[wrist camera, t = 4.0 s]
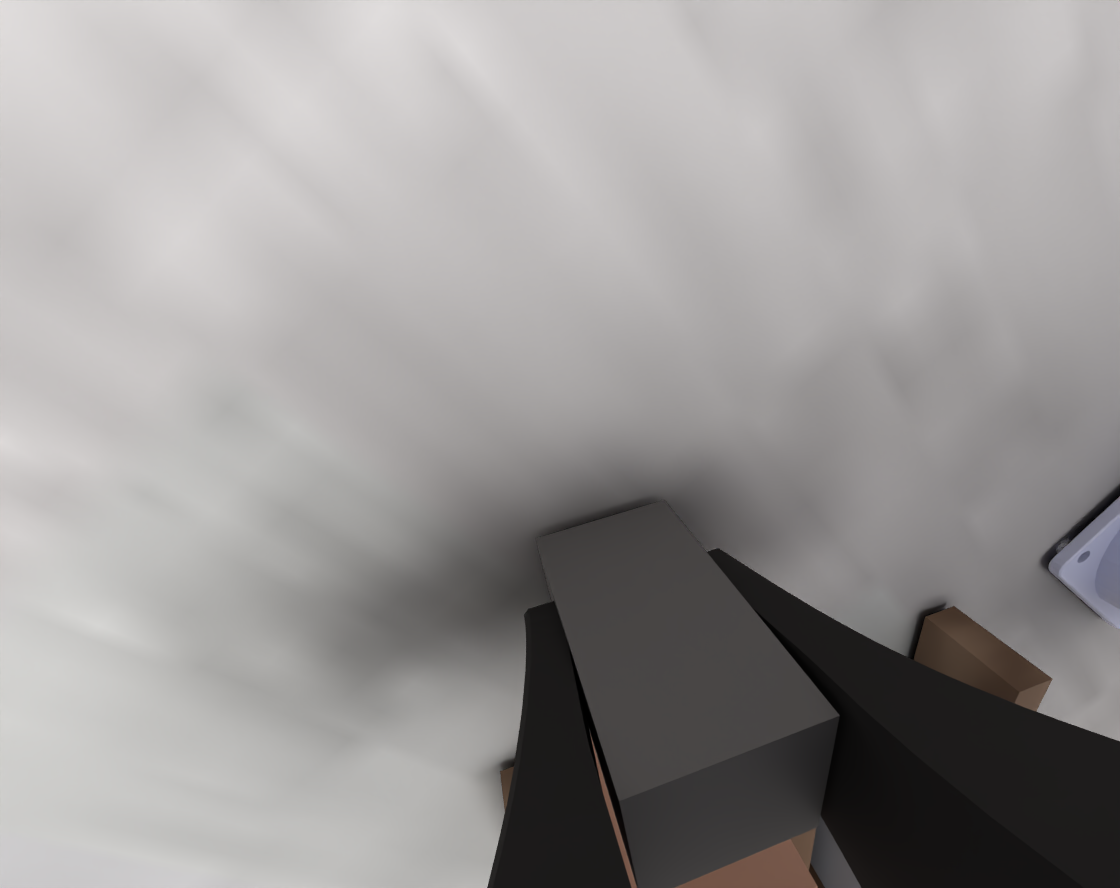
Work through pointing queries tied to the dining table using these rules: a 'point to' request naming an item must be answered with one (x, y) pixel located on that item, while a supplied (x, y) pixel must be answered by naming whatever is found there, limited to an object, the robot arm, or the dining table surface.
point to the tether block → (688, 707)
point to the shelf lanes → (957, 654)
